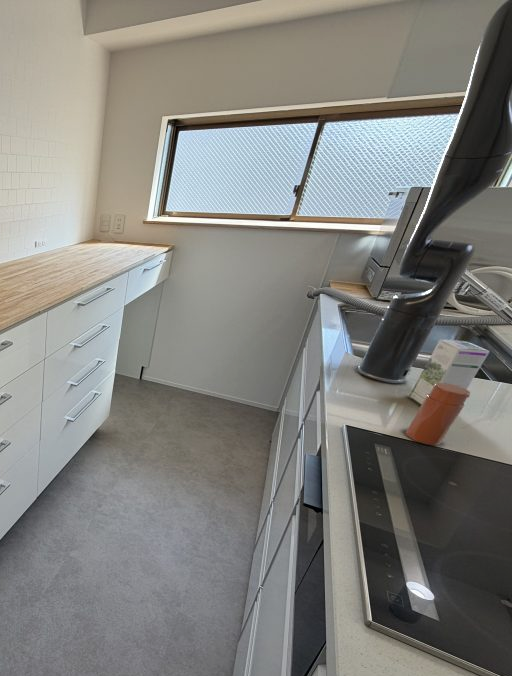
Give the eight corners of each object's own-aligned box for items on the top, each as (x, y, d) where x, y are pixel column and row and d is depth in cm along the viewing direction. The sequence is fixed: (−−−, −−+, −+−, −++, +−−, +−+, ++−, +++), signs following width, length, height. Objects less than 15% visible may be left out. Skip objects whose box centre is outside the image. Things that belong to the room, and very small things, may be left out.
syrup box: (454, 412, 90) (493, 350, 83) (423, 408, 91) (459, 347, 84) (435, 400, 95) (470, 341, 88) (406, 396, 96) (438, 338, 89)
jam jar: (398, 430, 82) (426, 381, 77) (424, 431, 82) (454, 383, 77) (419, 444, 78) (450, 393, 73) (447, 446, 77) (480, 395, 72)
